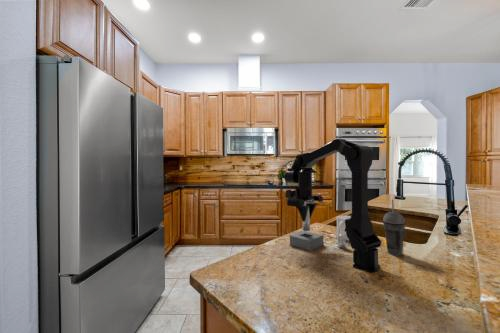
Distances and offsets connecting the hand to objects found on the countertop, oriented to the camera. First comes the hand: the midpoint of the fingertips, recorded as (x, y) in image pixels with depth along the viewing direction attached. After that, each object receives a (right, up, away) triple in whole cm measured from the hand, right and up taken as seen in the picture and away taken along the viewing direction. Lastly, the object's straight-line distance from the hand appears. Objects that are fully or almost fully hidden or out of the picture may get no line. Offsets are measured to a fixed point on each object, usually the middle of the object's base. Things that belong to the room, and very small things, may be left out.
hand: (306, 220), depth 97 cm
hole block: (0, -10, 0) cm, 10 cm away
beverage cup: (+30, -10, -12) cm, 34 cm away
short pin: (+14, -10, -4) cm, 17 cm away
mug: (+20, -10, +7) cm, 23 cm away
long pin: (0, -4, 0) cm, 4 cm away
